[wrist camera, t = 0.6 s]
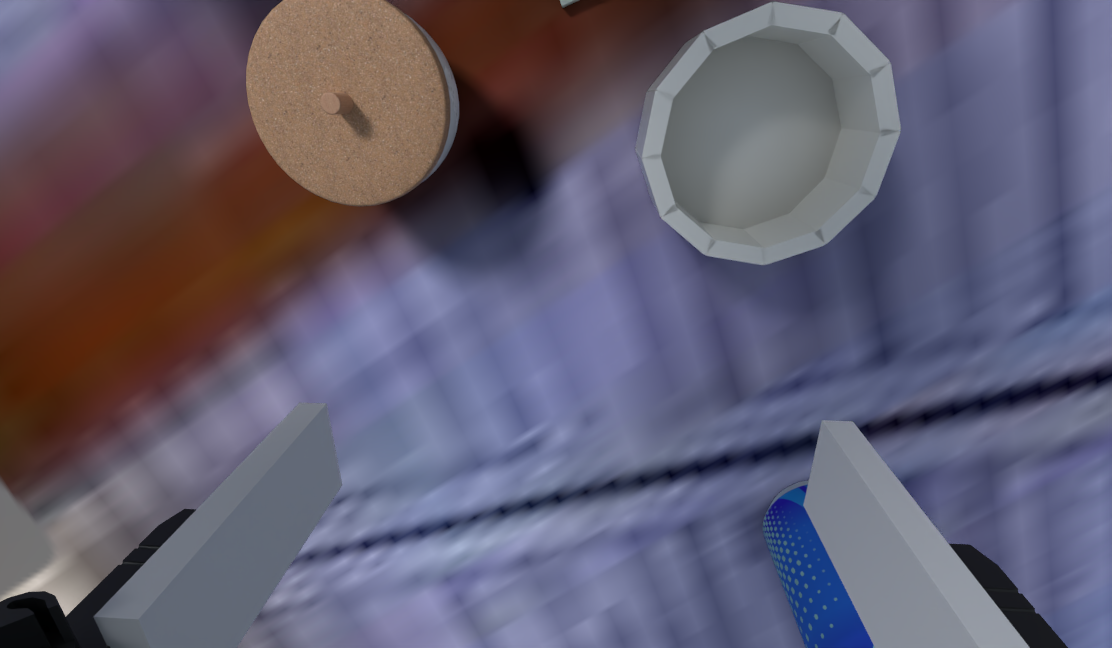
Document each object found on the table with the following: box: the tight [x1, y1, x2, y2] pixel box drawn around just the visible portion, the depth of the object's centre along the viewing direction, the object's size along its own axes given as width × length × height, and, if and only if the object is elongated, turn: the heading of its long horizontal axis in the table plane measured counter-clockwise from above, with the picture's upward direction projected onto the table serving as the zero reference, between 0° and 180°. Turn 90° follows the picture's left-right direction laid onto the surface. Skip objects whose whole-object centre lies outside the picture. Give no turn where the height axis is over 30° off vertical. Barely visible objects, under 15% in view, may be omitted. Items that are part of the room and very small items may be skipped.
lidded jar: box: [246, 0, 459, 206], centre depth 31 cm, size 11×11×9 cm
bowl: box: [635, 2, 901, 265], centre depth 32 cm, size 13×13×6 cm
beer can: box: [763, 480, 875, 648], centre depth 38 cm, size 8×8×16 cm
